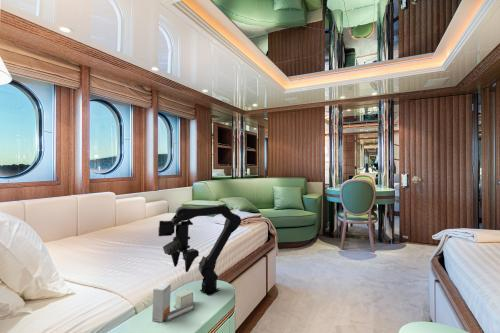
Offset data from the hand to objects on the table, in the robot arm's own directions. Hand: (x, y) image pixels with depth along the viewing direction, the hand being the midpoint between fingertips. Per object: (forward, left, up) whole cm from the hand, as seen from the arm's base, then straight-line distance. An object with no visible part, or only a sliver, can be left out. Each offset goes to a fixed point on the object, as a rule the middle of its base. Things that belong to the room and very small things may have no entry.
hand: (181, 269), depth 117 cm
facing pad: (+4, +9, -12) cm, 16 cm away
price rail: (+9, +14, -12) cm, 20 cm away
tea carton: (+4, +9, -12) cm, 15 cm away
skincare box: (+15, +10, -12) cm, 22 cm away
